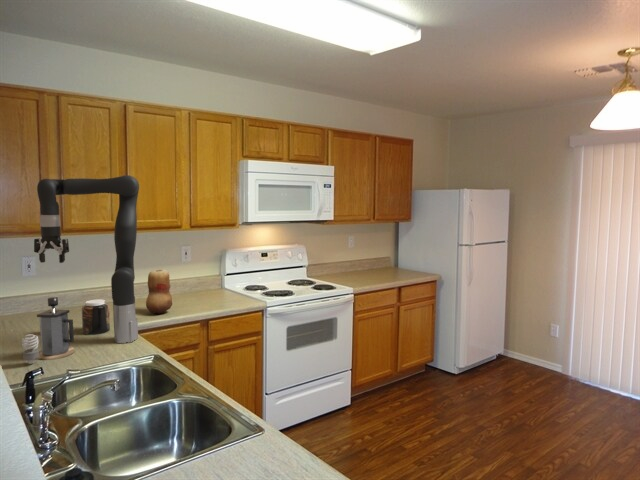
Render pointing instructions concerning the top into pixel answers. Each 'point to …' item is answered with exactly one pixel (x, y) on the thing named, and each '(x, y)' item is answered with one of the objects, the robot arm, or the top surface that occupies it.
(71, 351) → the disc
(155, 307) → the butternut squash
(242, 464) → the top surface
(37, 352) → the light bulb
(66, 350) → the carafe
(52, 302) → the plunger
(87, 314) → the jar
